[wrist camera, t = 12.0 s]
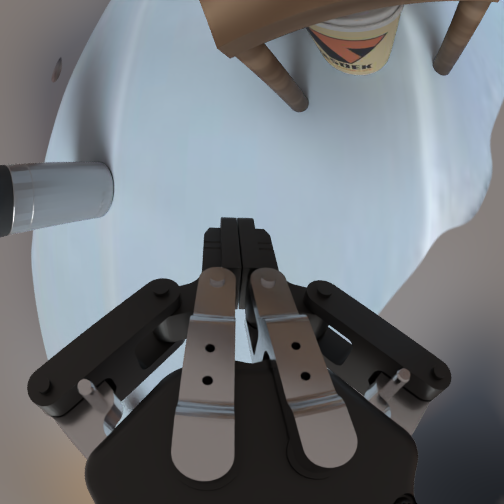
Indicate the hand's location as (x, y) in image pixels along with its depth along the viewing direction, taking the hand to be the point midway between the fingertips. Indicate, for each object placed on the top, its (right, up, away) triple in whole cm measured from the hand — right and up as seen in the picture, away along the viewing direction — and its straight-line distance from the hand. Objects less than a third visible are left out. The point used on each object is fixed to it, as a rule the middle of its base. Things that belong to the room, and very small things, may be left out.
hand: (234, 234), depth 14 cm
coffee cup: (+12, +21, +10) cm, 26 cm away
